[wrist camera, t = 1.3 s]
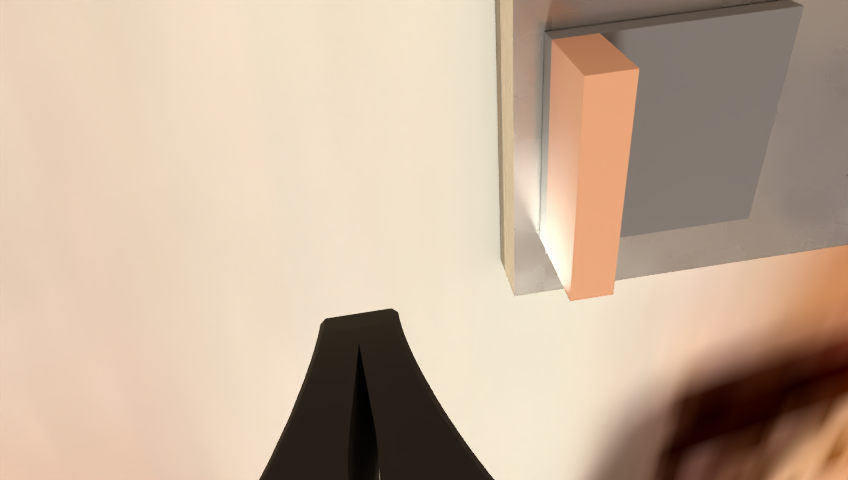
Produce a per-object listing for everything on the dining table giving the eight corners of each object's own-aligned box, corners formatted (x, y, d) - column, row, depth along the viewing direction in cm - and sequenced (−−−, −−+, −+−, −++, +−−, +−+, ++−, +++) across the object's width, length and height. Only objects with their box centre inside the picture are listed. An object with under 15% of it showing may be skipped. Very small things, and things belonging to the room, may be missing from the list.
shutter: (789, -1, 16) (871, 36, 14) (738, 207, 20) (795, 265, 17) (544, 31, 16) (584, 75, 13) (539, 237, 20) (570, 301, 17)
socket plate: (958, -137, 17) (1025, -129, 15) (835, 209, 23) (873, 240, 22) (493, -80, 16) (512, -65, 14) (501, 259, 23) (514, 296, 21)
